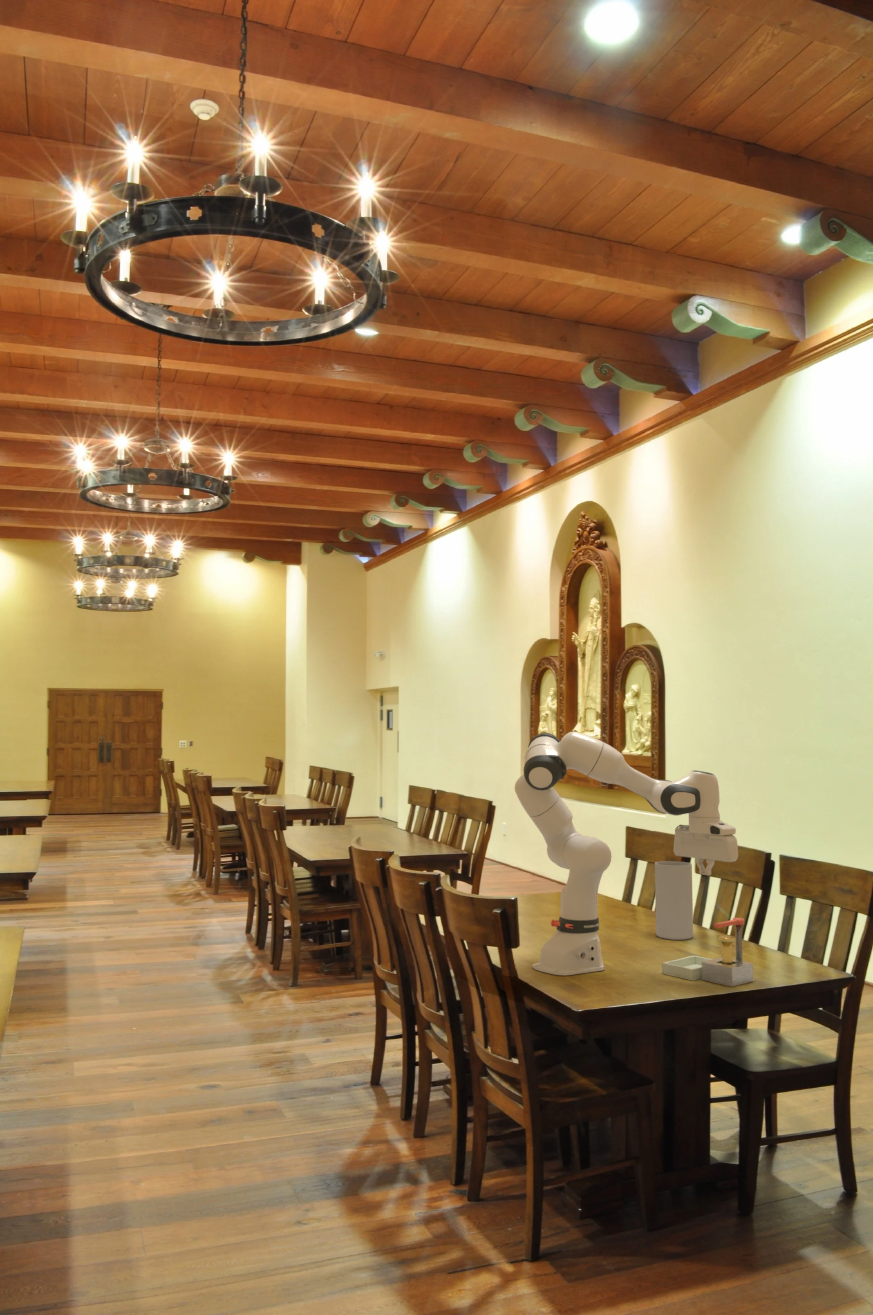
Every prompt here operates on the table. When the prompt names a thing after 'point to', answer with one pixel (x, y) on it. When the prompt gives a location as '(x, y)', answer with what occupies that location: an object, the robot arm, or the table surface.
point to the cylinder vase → (674, 900)
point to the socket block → (729, 967)
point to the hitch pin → (726, 949)
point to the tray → (685, 967)
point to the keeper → (730, 923)
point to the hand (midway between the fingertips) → (705, 874)
